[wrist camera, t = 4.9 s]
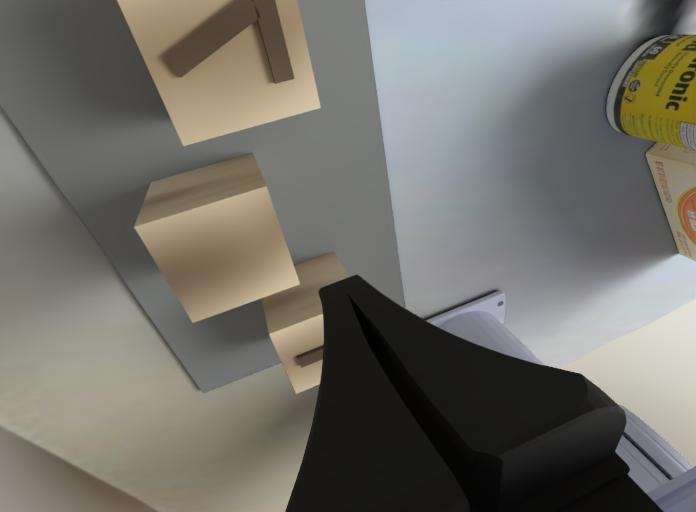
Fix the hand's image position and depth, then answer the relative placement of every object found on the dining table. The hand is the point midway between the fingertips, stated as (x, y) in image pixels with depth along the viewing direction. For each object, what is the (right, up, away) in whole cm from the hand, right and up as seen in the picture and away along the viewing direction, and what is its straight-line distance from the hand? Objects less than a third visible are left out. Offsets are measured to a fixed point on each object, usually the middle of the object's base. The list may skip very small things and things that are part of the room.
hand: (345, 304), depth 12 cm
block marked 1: (-2, -1, +10) cm, 10 cm away
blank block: (-6, +4, +5) cm, 9 cm away
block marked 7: (-5, +10, +2) cm, 11 cm away
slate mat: (-5, +4, +6) cm, 9 cm away
